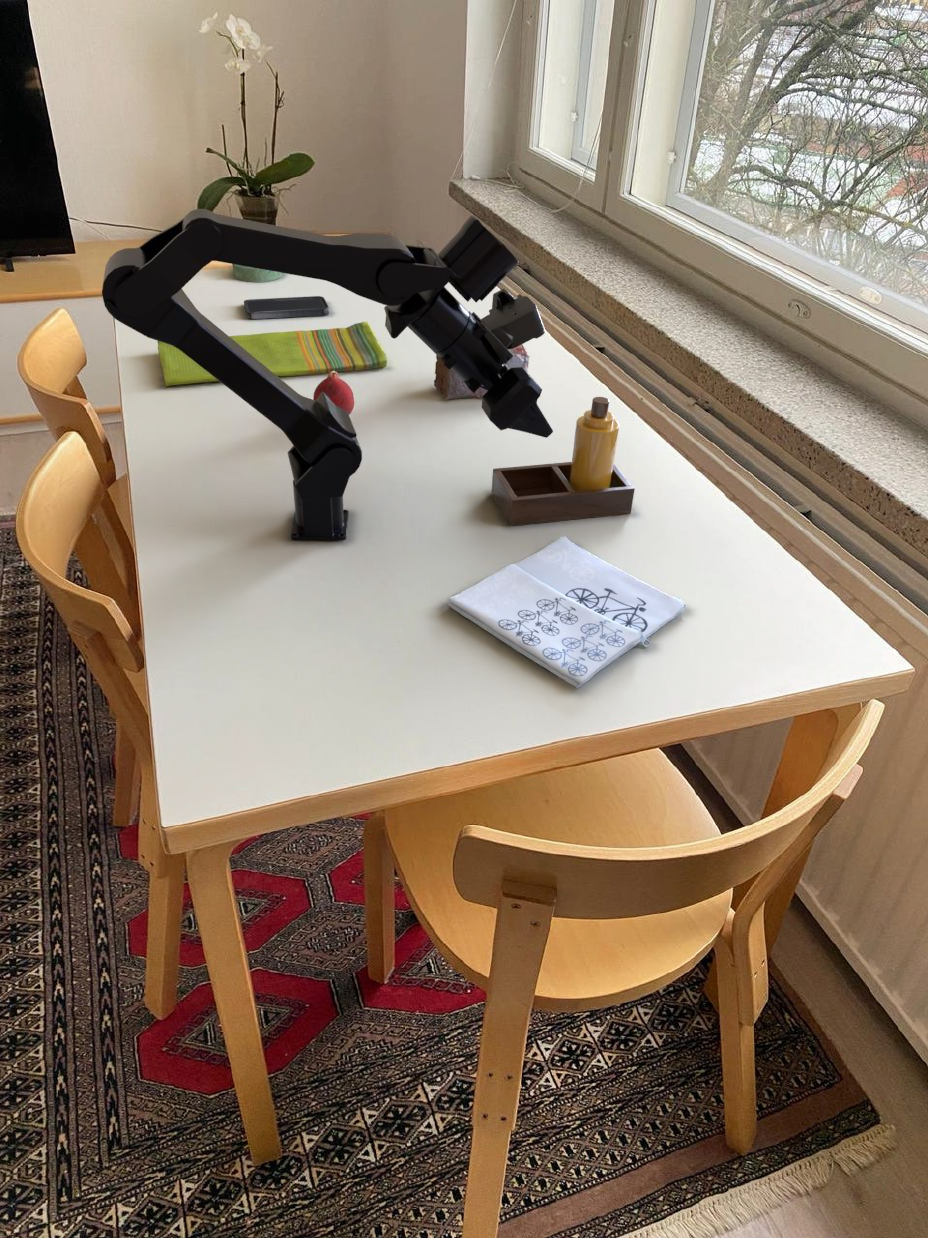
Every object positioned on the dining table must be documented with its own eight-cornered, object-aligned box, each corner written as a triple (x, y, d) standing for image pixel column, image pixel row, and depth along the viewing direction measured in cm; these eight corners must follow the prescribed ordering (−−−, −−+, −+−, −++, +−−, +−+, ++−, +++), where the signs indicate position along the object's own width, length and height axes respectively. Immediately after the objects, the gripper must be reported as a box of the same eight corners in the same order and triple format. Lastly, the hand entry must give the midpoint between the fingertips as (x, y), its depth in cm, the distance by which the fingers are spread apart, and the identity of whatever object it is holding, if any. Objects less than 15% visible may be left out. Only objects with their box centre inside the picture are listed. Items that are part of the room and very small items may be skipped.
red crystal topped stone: (509, 377, 152) (514, 317, 146) (529, 396, 146) (534, 334, 140) (430, 385, 148) (432, 324, 142) (448, 405, 142) (450, 342, 136)
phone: (329, 308, 172) (247, 313, 168) (329, 315, 172) (247, 319, 169) (322, 295, 178) (243, 299, 174) (323, 301, 178) (243, 305, 175)
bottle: (605, 508, 117) (619, 411, 109) (564, 501, 118) (576, 405, 110) (610, 489, 121) (624, 394, 113) (571, 482, 122) (582, 388, 114)
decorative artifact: (292, 276, 190) (267, 264, 196) (289, 240, 186) (264, 229, 192) (248, 284, 185) (224, 272, 191) (245, 248, 181) (220, 236, 187)
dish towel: (390, 369, 153) (390, 350, 151) (165, 389, 143) (162, 369, 141) (368, 337, 164) (367, 319, 162) (158, 353, 154) (155, 334, 152)
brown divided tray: (491, 493, 120) (492, 468, 118) (605, 482, 124) (609, 458, 122) (510, 526, 114) (512, 500, 112) (630, 513, 118) (634, 488, 115)
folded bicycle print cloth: (441, 608, 100) (442, 591, 98) (564, 542, 111) (566, 527, 110) (578, 696, 89) (580, 678, 88) (697, 613, 101) (701, 597, 99)
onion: (347, 435, 132) (345, 381, 127) (309, 430, 133) (305, 377, 128) (359, 418, 136) (358, 366, 132) (322, 414, 137) (319, 361, 132)
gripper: (530, 304, 92) (618, 400, 101) (479, 251, 107) (560, 340, 116) (451, 384, 95) (543, 471, 104) (412, 322, 110) (496, 404, 119)
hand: (537, 417), depth 111 cm, fingers open, 9 cm apart
